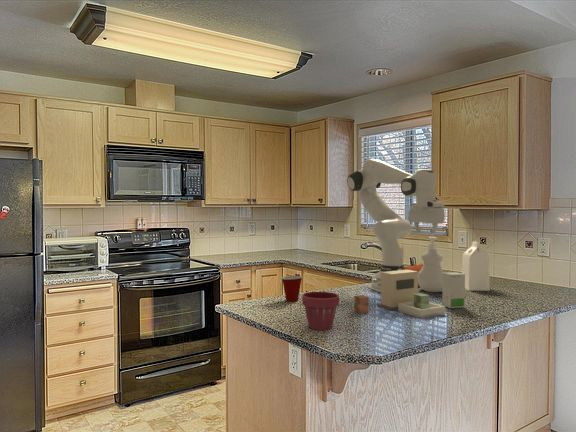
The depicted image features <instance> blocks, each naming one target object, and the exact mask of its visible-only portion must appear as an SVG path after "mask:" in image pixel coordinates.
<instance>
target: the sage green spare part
mask: <svg viewBox="0 0 576 432" xmlns="http://www.w3.org/2000/svg"><path fill="white" fill-rule="evenodd" d="M429 302H430V295H429V294H427V293H426V294H425V293H421V292H420V293H418V294H414V307H415V308H419V309H426V308H429Z"/></svg>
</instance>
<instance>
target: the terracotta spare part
mask: <svg viewBox="0 0 576 432" xmlns="http://www.w3.org/2000/svg"><path fill="white" fill-rule="evenodd" d="M353 296H354V297H353V298H354V302H353V304H354V305H353V311H354V312H355V313H357V314H361V315H362V314H367V313H369V312H370V310H369V309H370V308H369V307H370V304H369V301H370V296H368V295H364V294H360V295H359V294H358V295H353Z"/></svg>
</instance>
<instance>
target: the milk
mask: <svg viewBox="0 0 576 432" xmlns="http://www.w3.org/2000/svg"><path fill="white" fill-rule="evenodd" d="M461 262H462V263H461V273H462V274H465V290H467V291H483V292H485V291H491V287H490V285H491V284H490V282H491V281H490V257H489V255H488V254H487V253H486V252H485V251H484V250H483V249H482V248H481V247H480V242H478V241H472V242H471V246H470V247H469V248H467V250H465V251H464V252H463V254H462V261H461Z"/></svg>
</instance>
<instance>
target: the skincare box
mask: <svg viewBox="0 0 576 432" xmlns="http://www.w3.org/2000/svg"><path fill="white" fill-rule="evenodd" d="M441 292H442V294H441V295H442V296H441V297H442V298H441V299H442V302H441V303H442V304H441V305H442V306H445V308H448V309H457V308H459V309H460V308H465V301H466V299H465V298H466V295H465V294H466V289H465V274H462V272H461V273H460V272H452V271H451V272H444V273H443V290H442V291H441Z"/></svg>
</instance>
